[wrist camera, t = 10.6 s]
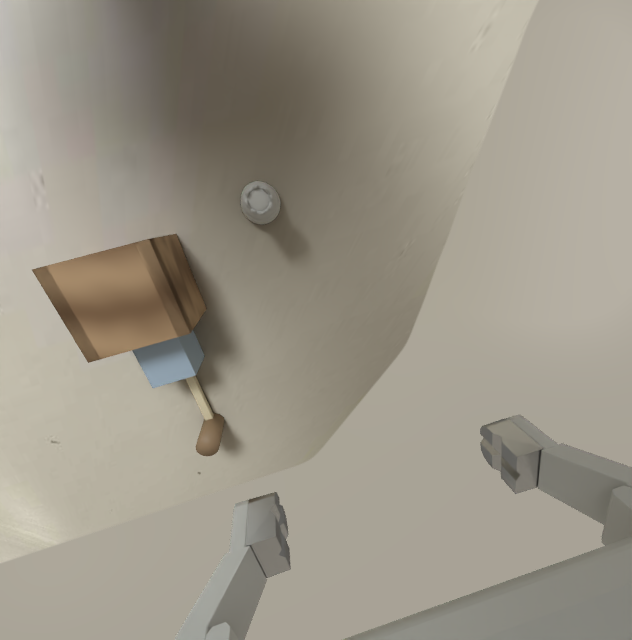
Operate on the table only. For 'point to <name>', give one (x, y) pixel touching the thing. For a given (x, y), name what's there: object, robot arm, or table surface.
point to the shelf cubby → (125, 296)
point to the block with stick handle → (176, 364)
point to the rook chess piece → (260, 202)
